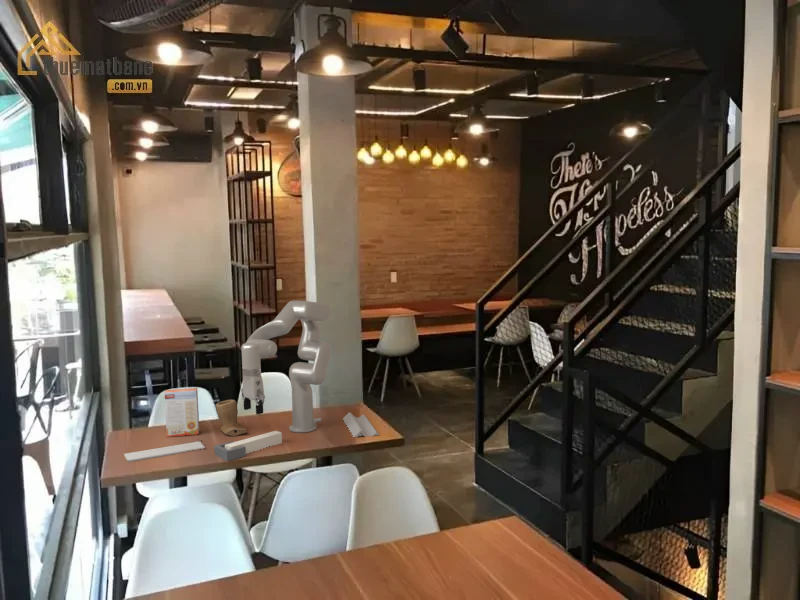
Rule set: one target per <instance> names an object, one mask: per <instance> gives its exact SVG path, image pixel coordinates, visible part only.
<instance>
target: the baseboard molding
mask: <svg viewBox="0 0 800 600" xmlns="http://www.w3.org/2000/svg"><path fill="white" fill-rule="evenodd" d="M202 442H203V440H200V439H197V441H195V442H193V441H192V442H188V443H187V442H186V443H181V444H176V445H175V444H174V445H170V446H164V447H158V448H152V449H146V450H140V451H133V452H126V453H123V457H124V458H125V460H127V461H126V462H127V463H132V462H136V461H138V462H139V461H142V460H149V459H154V458H161V457H166V456H167V457H168V456H173V455H178V453H179V454H183V453H182V452H185V453H188V452H187V451H191V452H193V451H192V450H196V451H198V450H197V449H202V450H204V449H203V448H205V449H206V446H205V445H204V444H203V443H202Z"/></svg>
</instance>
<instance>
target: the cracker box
mask: <svg viewBox="0 0 800 600" xmlns="http://www.w3.org/2000/svg"><path fill="white" fill-rule="evenodd" d="M198 393H199V392H198V388H197V387H193V388H192V387H191V388H177V389H176V388H175V389H166V390H165V392H164V408H165V410H164V411H165V413H164V414H165V428H166V429H165V430H166V431H165V432H166V437H167V438H172V437H184V436H185V435H187V436H196V435H197V434H198V435H199V433H200V416H199V414H200V413H199V399H198V398H199V396H198V395H199V394H198ZM198 435H197V436H198Z"/></svg>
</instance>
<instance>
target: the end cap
mask: <svg viewBox="0 0 800 600" xmlns="http://www.w3.org/2000/svg"><path fill="white" fill-rule="evenodd" d="M233 442H234V440H232V441H227V442H223V443H219V444H216V445H214V448H213V449H214V453H213V454H214V455H215V454H216V455H217V456H216V455H215V456H216V457H218V456H219V457H218V458H220V457H221V458H220V459H222V458H223V459H222V460H223V461H226V462H229V461H234V460H237V459H240V457H241V458H244V457H246V456H247V454H246V447H245V446H242V447H238V448H234V449H230V450H228V449H225V445H226V444H230V443H233Z"/></svg>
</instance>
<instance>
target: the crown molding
mask: <svg viewBox="0 0 800 600" xmlns="http://www.w3.org/2000/svg"><path fill="white" fill-rule="evenodd" d="M343 420H344V421H343ZM342 421H343V422H344V424H345V425H347V426H346V428H347V427H348V428H349V429H348V428H347V429H348V431H349V430H350V431H349V433H350V432H351V433H352V434H351V433H350V434H351V436H352V435H353V436H352V438H353V437H357V438H358V437H362V436H364V437H365V438H367V437H366V436H370V437H374V435H375V436H380V433H379V432H378V431H377V429H376V428H375V427H374V425H373V424H372V423H371V421H370V420H369V419H368V417H367V416H366V415H365V414H364V413H363V414H362V415H360V416H359V417H357V416H355V415H354V414H352V412H348V413H347V414H346V415H345V416H344V417H343V418H342Z"/></svg>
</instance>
